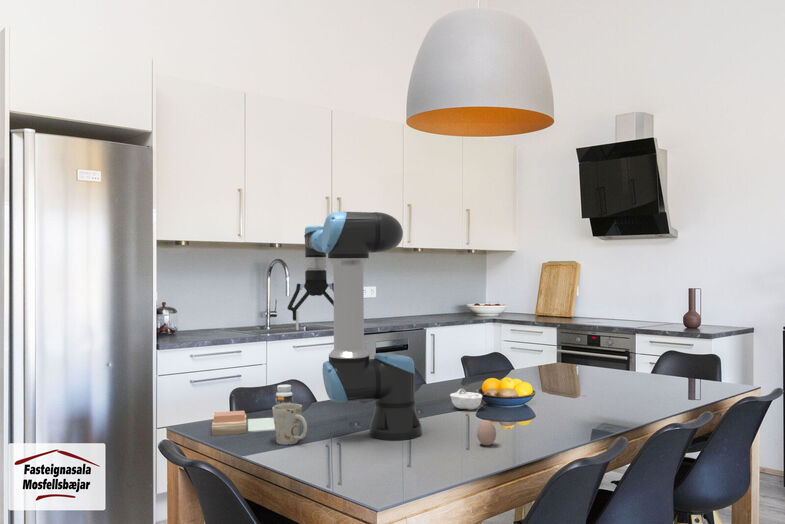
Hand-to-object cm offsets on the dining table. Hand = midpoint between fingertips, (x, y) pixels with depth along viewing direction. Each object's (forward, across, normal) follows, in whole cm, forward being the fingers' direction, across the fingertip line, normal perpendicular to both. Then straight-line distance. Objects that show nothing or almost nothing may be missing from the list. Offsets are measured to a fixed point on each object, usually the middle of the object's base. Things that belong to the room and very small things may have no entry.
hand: (316, 329), depth 236 cm
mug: (+27, +11, +49) cm, 57 cm away
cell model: (+27, -49, +19) cm, 59 cm away
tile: (+25, +29, +26) cm, 46 cm away
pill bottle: (+27, +12, +13) cm, 32 cm away
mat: (+27, +18, +25) cm, 41 cm away
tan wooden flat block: (+27, +29, +26) cm, 48 cm away
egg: (+27, -40, +64) cm, 81 cm away
